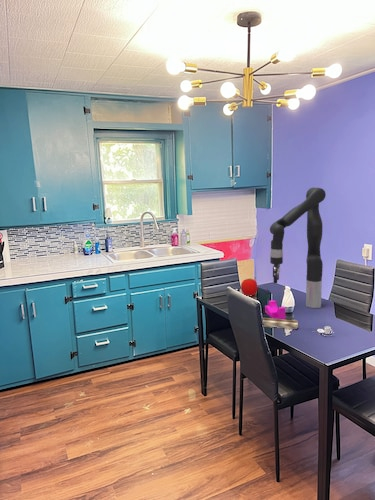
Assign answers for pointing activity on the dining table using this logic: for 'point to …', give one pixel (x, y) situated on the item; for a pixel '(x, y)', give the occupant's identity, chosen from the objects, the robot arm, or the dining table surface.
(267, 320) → the plank
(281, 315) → the toy block
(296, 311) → the dining table surface
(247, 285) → the tomato
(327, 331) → the teacup and saucer
